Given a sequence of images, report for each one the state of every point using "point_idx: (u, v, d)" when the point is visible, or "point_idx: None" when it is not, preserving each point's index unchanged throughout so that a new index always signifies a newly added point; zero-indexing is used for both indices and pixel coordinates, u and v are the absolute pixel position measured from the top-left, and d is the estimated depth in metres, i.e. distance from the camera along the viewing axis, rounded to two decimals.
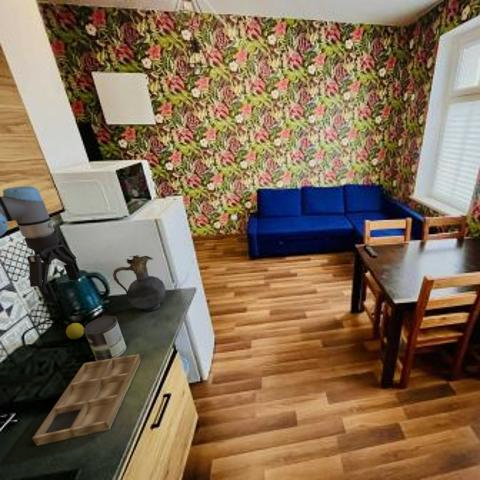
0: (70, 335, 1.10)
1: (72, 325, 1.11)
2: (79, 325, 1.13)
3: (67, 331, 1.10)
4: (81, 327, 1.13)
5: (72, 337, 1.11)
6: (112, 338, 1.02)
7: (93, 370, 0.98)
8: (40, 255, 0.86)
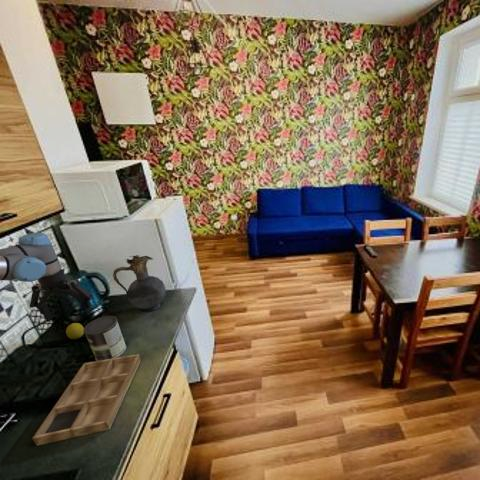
0: (70, 335, 1.10)
1: (72, 325, 1.11)
2: (79, 325, 1.13)
3: (67, 331, 1.10)
4: (81, 327, 1.13)
5: (72, 337, 1.11)
6: (112, 338, 1.02)
7: (93, 370, 0.98)
8: None
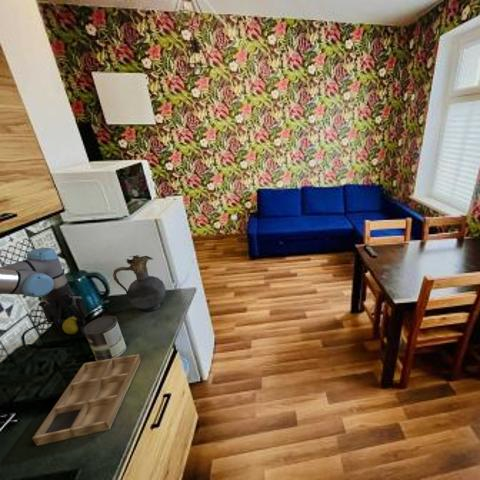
0: (66, 330, 1.09)
1: (68, 320, 1.09)
2: (76, 320, 1.11)
3: (63, 326, 1.09)
4: None
5: (68, 332, 1.09)
6: (112, 338, 1.02)
7: (93, 370, 0.98)
8: None
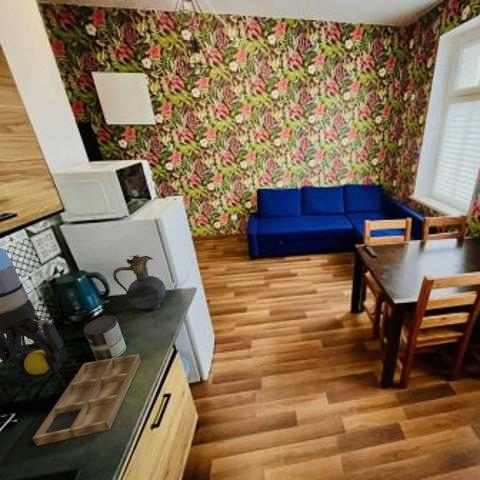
0: (30, 369, 0.73)
1: (33, 354, 0.73)
2: (45, 353, 0.75)
3: (25, 364, 0.73)
4: None
5: (34, 372, 0.73)
6: (112, 338, 1.02)
7: (93, 370, 0.98)
8: None
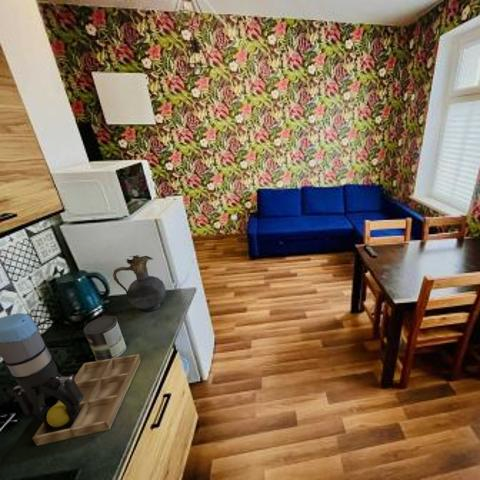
0: (52, 423, 0.77)
1: (55, 408, 0.77)
2: None
3: (48, 418, 0.76)
4: None
5: (55, 425, 0.77)
6: (112, 338, 1.02)
7: (93, 370, 0.98)
8: None
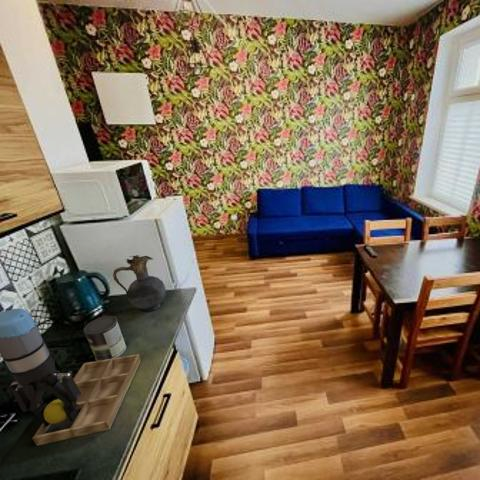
0: (49, 420, 0.76)
1: (53, 405, 0.77)
2: (63, 403, 0.78)
3: (45, 414, 0.76)
4: None
5: (52, 422, 0.77)
6: (112, 338, 1.02)
7: (93, 370, 0.98)
8: None
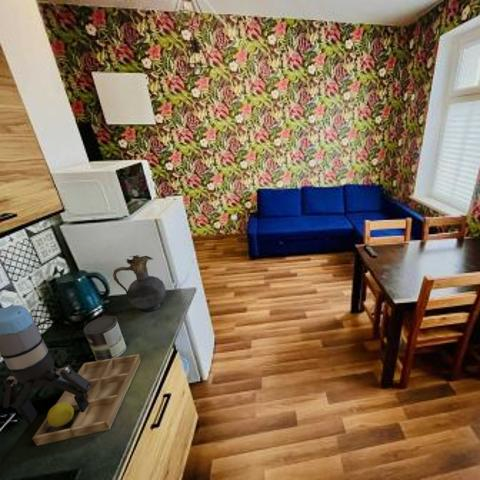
0: (53, 423, 0.77)
1: (56, 408, 0.77)
2: (67, 406, 0.79)
3: (49, 418, 0.76)
4: (69, 409, 0.79)
5: (56, 425, 0.77)
6: (112, 338, 1.02)
7: (93, 370, 0.98)
8: None
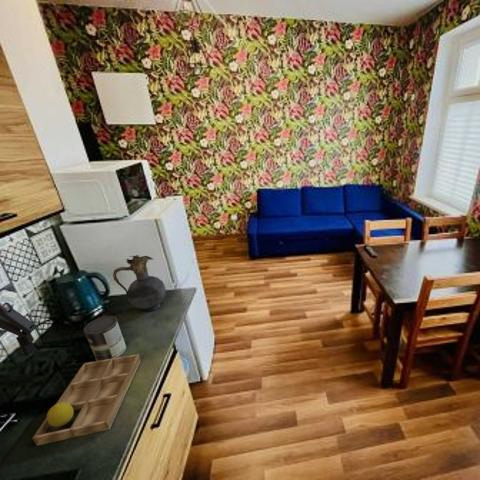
0: (53, 423, 0.77)
1: (56, 408, 0.77)
2: (66, 406, 0.79)
3: (48, 418, 0.76)
4: (69, 409, 0.79)
5: (56, 425, 0.77)
6: (112, 338, 1.02)
7: (93, 370, 0.98)
8: None
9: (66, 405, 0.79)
